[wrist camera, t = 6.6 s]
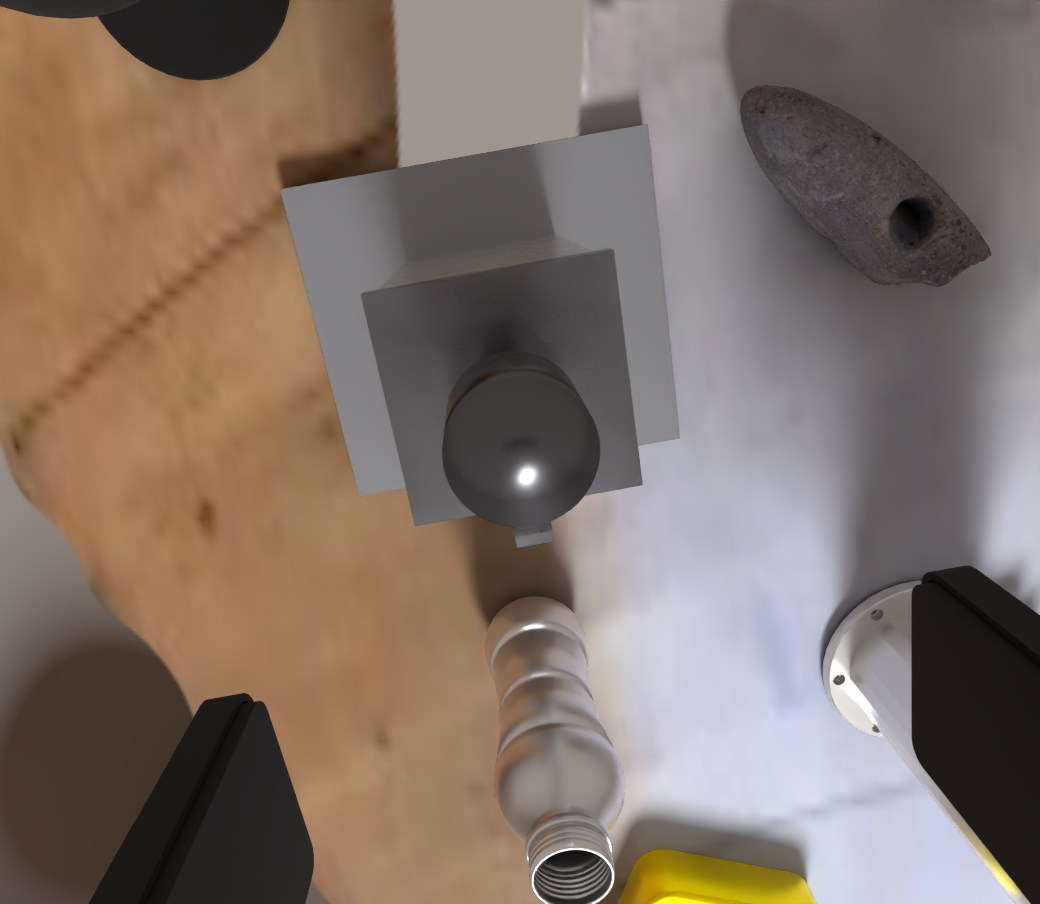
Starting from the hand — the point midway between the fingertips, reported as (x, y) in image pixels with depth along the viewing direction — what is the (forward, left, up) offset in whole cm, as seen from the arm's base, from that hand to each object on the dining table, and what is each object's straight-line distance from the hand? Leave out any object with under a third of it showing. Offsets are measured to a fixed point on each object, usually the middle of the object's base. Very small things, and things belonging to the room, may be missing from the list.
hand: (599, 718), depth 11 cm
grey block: (0, +1, -34) cm, 34 cm away
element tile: (-7, +52, -36) cm, 63 cm away
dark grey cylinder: (0, 0, -30) cm, 30 cm away
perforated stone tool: (-20, -5, -36) cm, 41 cm away
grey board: (0, 0, -35) cm, 35 cm away
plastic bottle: (+1, +21, -36) cm, 41 cm away
